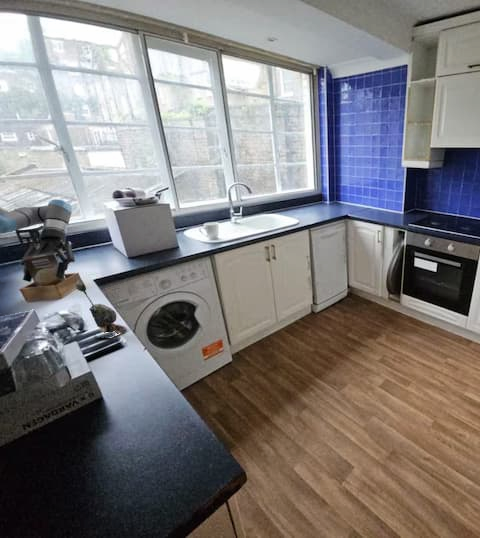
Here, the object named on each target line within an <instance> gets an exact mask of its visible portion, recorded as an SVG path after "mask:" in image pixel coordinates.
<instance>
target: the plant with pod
mask: <svg viewBox="0 0 480 538" xmlns="http://www.w3.org/2000/svg"><path fill="white" fill-rule="evenodd" d="M76 290H78V291H79V292H83V294H84V295H85V296H86V298H87V299H88V301H89V302H90V303H91V307H89V311H90V313H91V316H92V318H93V320H94V322H95V325H96V326H97V327H98V328H99V330H100V333H101V332H104V333H105V332H113V331H115V332H116V333H117V334H119V333H122V334H121V335H123V334H125V333H126V332H127V331H128V328H127V327H126V326H125V325H122V324H115V322H117V313H116V311H115V310H114V309H113V308H111V307H109V306H107V305H105V304H102V303H95V304H94V303H93V302H92V300H91V299H90V297H89V296H88V293H87V292H86V290H87V287H86V285H85V282H84V281H83V280H82V278H81V279H78V280H77V281H76Z"/></svg>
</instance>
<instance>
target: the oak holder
mask: <svg viewBox="0 0 480 538" xmlns="http://www.w3.org/2000/svg"><path fill="white" fill-rule="evenodd" d="M64 275H65V278H66V279H65V280H63V281H62V282H60V283H58V284H57V285H50V286H41V287H36V285H35V283H34V281H32V282H30V283H29V284H27V285H25V286H23V287H21V288H19V291H20V293H21V295H22V297H23V298H24V301H25V302H26V303H30V302H40V301H50V300H58V299H64V298H65V297H67V296H68V295H69V294H71V293H72V292H74V291H76V290H77V289H76V281H77V280H78V279H81V280H82V278H81V275H80V273H79V272H71V273H64ZM73 290H74V291H73Z"/></svg>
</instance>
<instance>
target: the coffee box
mask: <svg viewBox="0 0 480 538" xmlns="http://www.w3.org/2000/svg"><path fill="white" fill-rule="evenodd" d="M23 257H24V258H23ZM23 257H22V258H23V259H24V263H25V265H26V267H27V269H28V271H29V273H30V275H31V277H32V282H34V283H35V285H36V287H41V286H50V285H57V284H58V283H60V282H62V281H63V280H65V279H66V278H65V275H64V278H63V279H61V278H59V277H56V275H57V270H58V265H59V262H60V261H59V260H58V257H57V255H56V252H48V253H42V254H36V255H30V256H24V255H23Z"/></svg>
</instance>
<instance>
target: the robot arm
mask: <svg viewBox="0 0 480 538" xmlns="http://www.w3.org/2000/svg"><path fill="white" fill-rule="evenodd" d="M72 209H73V206H72V204H71V203H69V202H68V201H65V200H63V199H58V198H56V199H54V198H53V199H51V200H49V201H48V204H47V205H41V206H28V207H27V206H25V207H23V206H22V207H18V208H14V209H13V210H10V211H8V210H7V209H4V208H3V207H0V235H4V234H8V233H14V232H15V231H16V230H23V229H27V228H29V227H32V226H37V225H42V226H43V228H42V229H41V232H40V234H41V236H40V238H41V242H40V243H39V244H34V243H33V242H31V244H30V246H29V248H28V249H27V250H28V251H27V252H26V254H25V253H24V255H23V257H22V258H21V259H20V261H19V262H18V264H19V265H21V266H23V271H22V273H23V278H22V280H23V281H25V282H28V283H32V281H33V279H32V277H31V275H30V273H29V271H28V269H27V267H26V265H25V263H24V259H23V258H24V256H30V255H36V254H42V253H48V252H54V253H55V254H57V256H58V257H59V259H60V261H58V262H59V265H58V270H57V275H56V277H59V278H61V279H63V278H64V274H66V271H67V270H68V267H69V265H70V264H71V263H75V261H76V260H75V256H74V252H73V242H71V241H69V240H68V239H67V240H66V238H67V233H68V229H69V223H70V221H71V217H72V212H73V211H72ZM62 247H63V248H64V250H65V251H64V250H63V249H62ZM43 251H44V252H43ZM64 252H65V253H64Z"/></svg>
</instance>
